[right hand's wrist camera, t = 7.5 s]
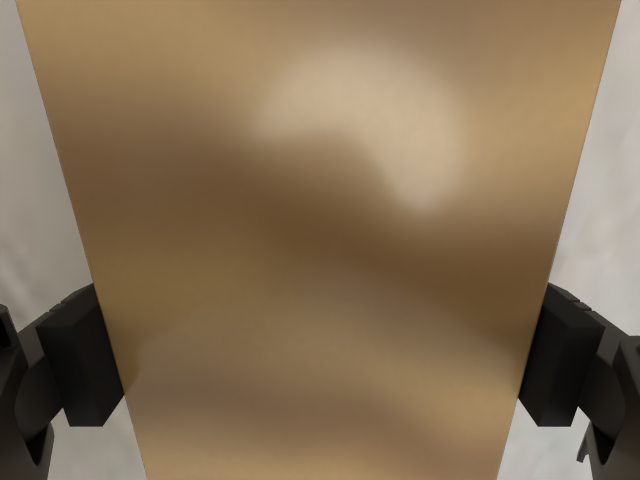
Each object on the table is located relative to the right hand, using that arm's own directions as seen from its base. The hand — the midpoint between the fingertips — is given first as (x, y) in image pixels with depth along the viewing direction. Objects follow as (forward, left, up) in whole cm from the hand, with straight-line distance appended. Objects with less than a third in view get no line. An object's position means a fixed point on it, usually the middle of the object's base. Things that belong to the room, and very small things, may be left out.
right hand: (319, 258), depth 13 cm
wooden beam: (+20, -22, -1) cm, 29 cm away
